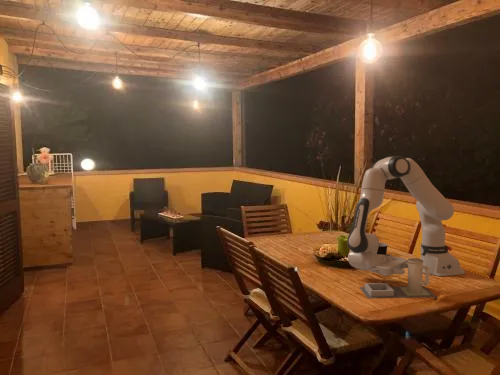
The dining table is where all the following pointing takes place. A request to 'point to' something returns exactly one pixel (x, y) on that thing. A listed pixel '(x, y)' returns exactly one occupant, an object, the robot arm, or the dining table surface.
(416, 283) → the jug
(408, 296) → the stand board
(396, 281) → the dining table surface
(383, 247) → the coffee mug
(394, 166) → the robot arm
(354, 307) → the dining table surface
